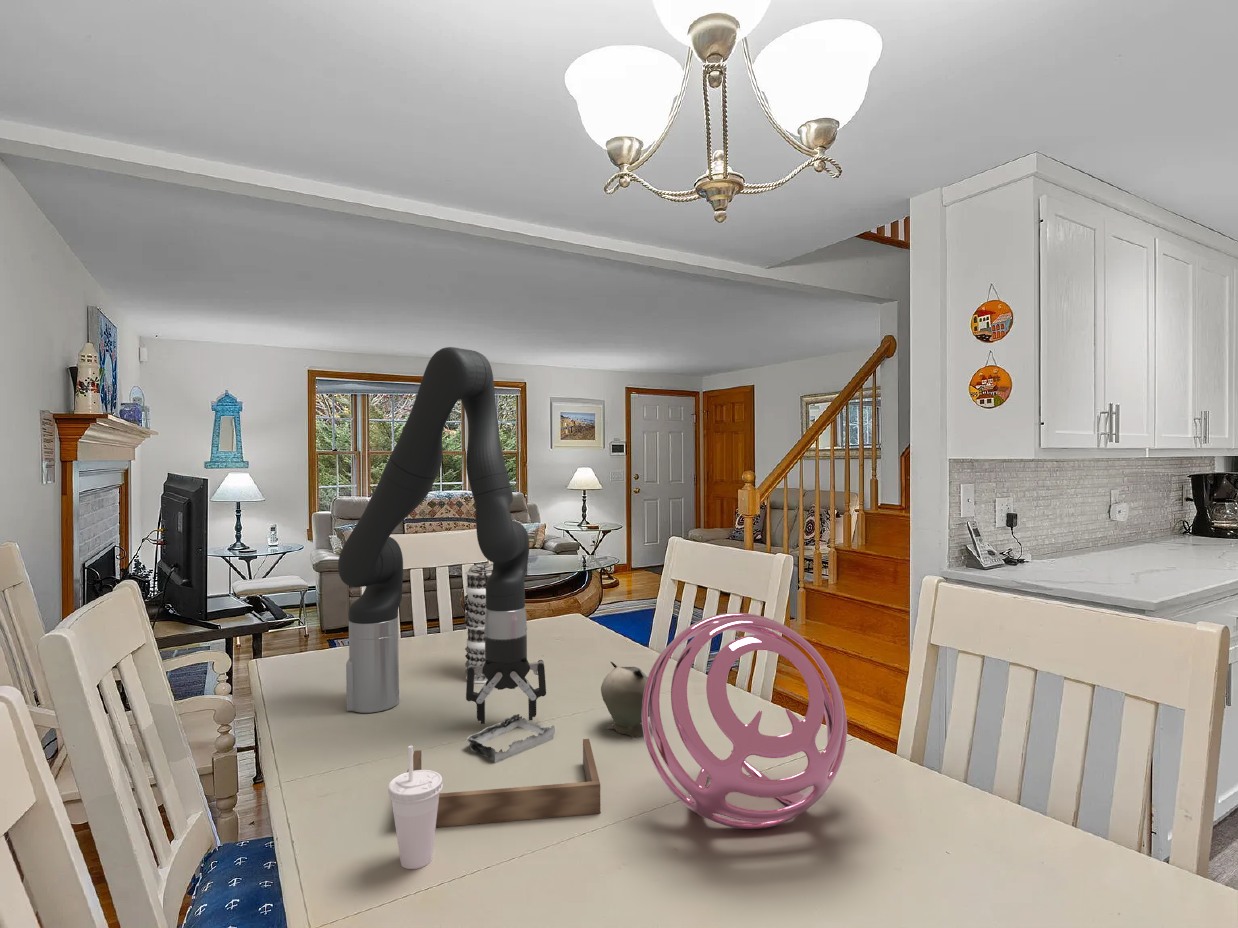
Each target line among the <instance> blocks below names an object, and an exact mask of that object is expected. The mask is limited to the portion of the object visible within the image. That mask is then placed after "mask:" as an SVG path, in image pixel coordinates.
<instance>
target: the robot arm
mask: <svg viewBox="0 0 1238 928" xmlns="http://www.w3.org/2000/svg"><path fill="white" fill-rule="evenodd" d="M495 390H496V389H495V381H494V374H493V370H492V365H491V364H490V361H489V360H488V358H487V357H486V356H485V355H484V354H483V353H480V352H479V351H476V350H474V349H473V350H472V349H467V348H466V349H465V348H460V347H454V346H446V347H443V348H440V349H439V350H437V351H435V353H434V354H433V355H432V356H431V358H430V359H429V361H428V363H427V365H426V368H425V370H424V372H423V375H422V377H421V381H420V385H419V387H418V391H417V392H416V393H417V394H416V397H415V398H414V403H413V405H412V407H411V411H410V412H409V415H408V417H407V419H406V420H405V421H406V422H405V424H404V426H403V428H402V431H401V434H400V436H399V437H398V440H397V442H396V444H395V446H394V448H393V450H392V451H391V454H390V456H389V458H388V460H387V462H386V464H385V466H384V468H383V471H382V474H381V476H380V478H379V481H378V482H377V485H376V488H375V489H374V491H373V493H372V495H371V497H370V499H369V501H368V503H367V506H366V507H365V510H364V511H363V513H362V515H361V517H360V518H359V519H358V521H357V523H356V525H355V526H354V528H353V529H352V531H351V533H350V534H349V536H348V537H347V539H346V541H345V543H344V544H343V547H342V549H341V551H340V554H339V555H338V560H337V561H338V563H337V570H338V575H339V578H340V580H341V581H342V582H343V583H344V584H345V585H347V586H348V587H353V588H360V587H361V588H362V587H365V590H363V593H362V594H361V595H360V596H359V597H358V598H357V599H356V600H354V602H352V603H351V604H350V606H349V608H348V644H349V645H348V660H347V661H346V663H345V669H346V671H345V673H346V674H345V675H346V677H345V680H346V683H345V684H346V711H347V712H356V713H361V714H362V713H369V714H370V713H377V712H382V711H386V710H390V709H391V708H393V707H395V706H397V705H398V704H399V702H400V671H399V669H400V668H399V667H400V665H399V663H400V660H399V654H400V653H399V652H400V651H399V609H400V606H401V603H402V600H403V581H404V579H403V578H404V558H403V552H402V548H401V546H400V544H399V543H398V542H397V540H396V539H395V538H394V537H391V534H393V531H394V530H395V529H396V528H397V527H398V526H399V525H400V524H401V523H402V522H403V521H404V520H405V519H406V518H408V517H409V516H410V515H411V514H412V513H413V512H414V511H415V510H416V509H417V508H418V507H419V506H420V504H421V503H423V502H424V500H425V499H426V497H427V496H428V494H429V493H430V491H431V489H432V487H433V484H434V483H435V480H436V479H437V477H438V475H439V473H440V470H441V467H442V464H443V452H444V451H443V433H444V428H445V425H446V423H447V421H448V419H449V417H450V415H451V413H452V411H453V409H454V407H455V405H456V404H457V402H458V401H459V400H460V402H461V403H462V405H463V409H464V411H465V412H464V413H465V414H466V420H467V426H468V439H467V447H466V455H465V456H466V458H465V467H466V474H467V479H468V482H469V486H470V491H471V495H472V498H473V501H474V504H475V527H476V537H477V543H478V546H479V549H480V552H481V553H482V555H483V556H484V558H485V559H486V560H488V561H489V562H491V563H492V564H493V570H492V574H491V575H490V577H489V578H488V580H487V582H486V614H485V628H484V633H485V663H484V665H483V666H475V665H474V664H470V665H469V666H468V670H467V674H466V676H467V680H466V689H465V690H466V692H465V699H466V701H467V702H474V703H475V704H476V720H477V722H480V725H485V724H486V699H487V697H488V696H489V695H490V693H492V691H493V690H494V689H497V690H498V691H499V690H501V691H502V690H504V689H510V690H515V689H516V688H518V687H519V688H520V690H521V691H522V692H523V693H525V695H526V696H527V698H528V702H527V703H528V722H529V721H531V722H532V721H533V719H534V718H535V717H536V716H537V700H538V699H539V698H540V697H541V698H542V697H545V696H546V695H547V684H546V683H547V682H546V673H545V672H546V669H545V663H544V660H543V659H539V660H538V661H537V662H529V661H528V638H527V637H528V636H527V635H528V634H527V633H528V625H527V621H528V620H527V619H528V618H527V614H526V613H527V611H526V590H525V582H526V581H525V580H526V575H527V569H528V562H529V555H530V537H529V534H528V531H527V529H526V528H525V526H524V525H523V524H522V523H520V522H518V521H515V520H512V515H511V510H510V506H511V504H512V503H513V500H514V495H513V489H512V486H511V482H510V478H509V474H508V471H507V467H506V463H505V462H506V461H505V458H504V454H503V449H502V444H501V437H500V431H499V430H500V429H499V428H500V427H499V421H498V411H497V404H496V403H497V402H496V393H495V392H496V391H495ZM530 670H531V671H532V672H533V674H534V675H535V676H537V680H538V687H537V688H534V687H533V686H532V685H531V683H530V682H529V681H528V679H527V678H526V676H527V675H528V673H529V672H530ZM482 672H483V674H484V676H485V677H486V678H487V679H488V680H487V681H486V683H485V684H483V686H482V688H480V691H479V692H476V691H475V683H474V679H476V678H478V676H479V674H480V673H482Z"/></svg>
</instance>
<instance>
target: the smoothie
mask: <svg viewBox="0 0 1238 928" xmlns="http://www.w3.org/2000/svg"><path fill="white" fill-rule="evenodd" d="M407 751H408V752H407V753H408V757H407V758H408V760H407V761H408V764H407V765H408V768H407V771H408V770H409V772H403V773H401V774H399V775H397V776H395V777H394V778H393V779H392V780H391V781H390V782H389V783H388V792H387V795H388V797H389V798H390V799H391V805H392V811H393V820H394V825H395V833H396V841H397V847H398V854H399V860H400V865H401V867H403V868H404V869H406V870H419V869H421V868H424V867H425V866H428V865H429V864H430V863H431V862H432V859H433V853H434V846H435V845H434V844H435V837H436V835H435V834H436V828H437V827H436V819H437V810H438V802H439V793H440V792H441V791H442V790H443V787H444V786H443V777H442V775H441V774H440V773H439V772H436V771H434V770H429V769H422V770H415V771H413V754H414V746H413V745H409V746H407Z"/></svg>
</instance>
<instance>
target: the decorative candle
mask: <svg viewBox="0 0 1238 928" xmlns="http://www.w3.org/2000/svg"><path fill="white" fill-rule="evenodd" d="M492 570H493V563H478V564H477V563H476V564H473V565H472V566H470V567H469V569H468V571H466V572H465V574H466V577H467V578H466V583H467V585H466V587H465V593H466V595H465V596H464V598H463V602H464V605H463V606H462V607H463V609H464V610H465V611H466V612H464V613H465V614H464V615H463V617H464V618H465V621H464V626H465V628H466V629H467V638H466V647H465V649H464V650H465V652H466V654H465V658H466V659H467V660H466V662H465V663H464V664H465V667H466V669H465V674H466V676H465V680H466V679H467V670H468V666H469V665H470V664H474V665H475V666H483V665H484V663H485V633H484V628H485V614H486V582H487V580H488V578H489V577H490V575H491V574H492ZM487 680H488V679H487V678H486V677H485V676H484V674H483V672H482V673H480V674H479V676H478V678H476V679H474V684H476V683H486V681H487Z"/></svg>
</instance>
